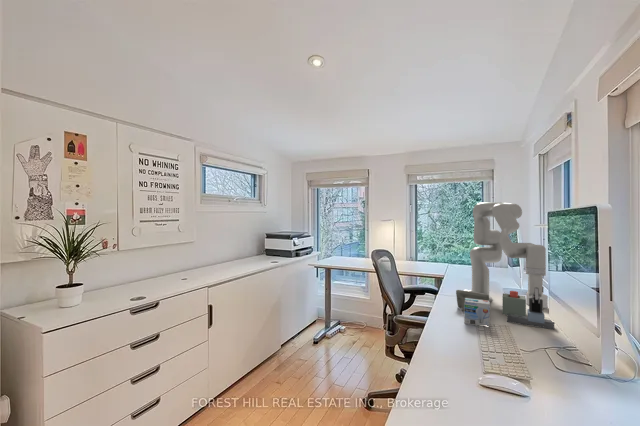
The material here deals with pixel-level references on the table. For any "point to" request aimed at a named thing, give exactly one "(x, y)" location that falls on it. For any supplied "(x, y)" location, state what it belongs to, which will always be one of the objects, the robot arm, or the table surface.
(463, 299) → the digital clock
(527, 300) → the medicine bottle
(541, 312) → the carriage
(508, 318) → the rail
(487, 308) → the light bulb box
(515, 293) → the gauge button
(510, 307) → the cabinet
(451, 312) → the table surface
